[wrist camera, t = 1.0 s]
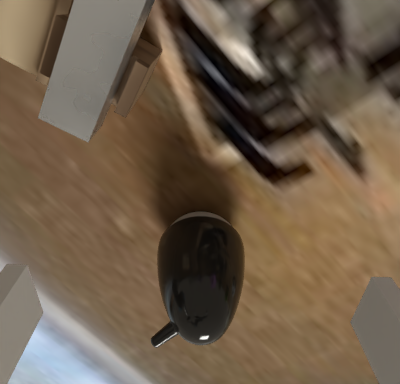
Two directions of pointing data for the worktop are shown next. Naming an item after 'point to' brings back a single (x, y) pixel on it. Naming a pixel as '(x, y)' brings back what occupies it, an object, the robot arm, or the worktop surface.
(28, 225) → the worktop surface
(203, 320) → the pump dispenser
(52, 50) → the cradle posts
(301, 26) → the worktop surface
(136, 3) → the rail
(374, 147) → the worktop surface
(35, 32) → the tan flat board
